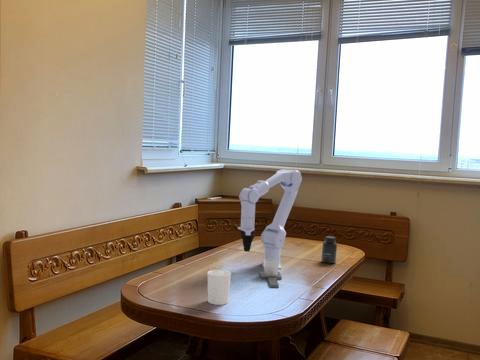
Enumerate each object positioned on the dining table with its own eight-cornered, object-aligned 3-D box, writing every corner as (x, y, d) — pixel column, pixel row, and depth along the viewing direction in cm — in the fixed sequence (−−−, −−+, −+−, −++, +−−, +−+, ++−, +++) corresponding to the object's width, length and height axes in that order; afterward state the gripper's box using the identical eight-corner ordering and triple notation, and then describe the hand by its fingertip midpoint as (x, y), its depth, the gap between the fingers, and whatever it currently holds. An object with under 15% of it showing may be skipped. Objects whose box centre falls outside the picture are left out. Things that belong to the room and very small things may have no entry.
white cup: (229, 298, 170) (230, 270, 169) (229, 306, 162) (231, 276, 161) (206, 297, 170) (207, 269, 169) (205, 305, 162) (207, 275, 161)
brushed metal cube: (263, 272, 203) (264, 257, 203) (276, 272, 203) (277, 258, 203) (264, 275, 198) (265, 260, 197) (277, 275, 198) (278, 261, 198)
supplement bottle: (325, 264, 226) (326, 238, 225) (318, 260, 233) (320, 235, 232) (338, 263, 228) (340, 238, 227) (332, 260, 235) (333, 235, 234)
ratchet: (260, 274, 204) (260, 264, 204) (279, 274, 205) (279, 264, 204) (263, 287, 185) (264, 276, 185) (284, 287, 186) (285, 276, 185)
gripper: (237, 214, 213) (236, 245, 214) (238, 219, 198) (237, 252, 199) (254, 214, 213) (252, 245, 214) (256, 220, 198) (254, 253, 199)
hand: (246, 249), depth 206 cm, fingers open, 7 cm apart
